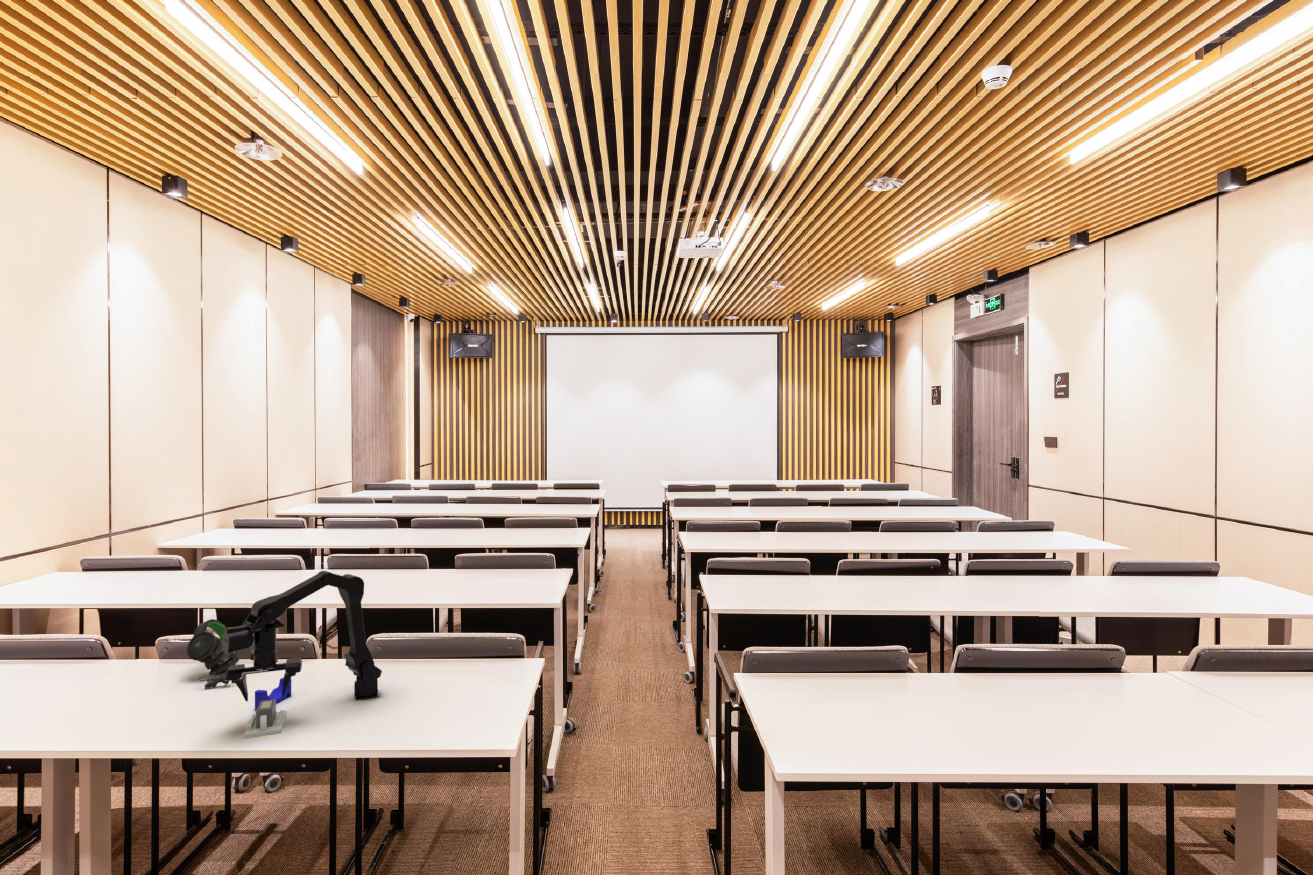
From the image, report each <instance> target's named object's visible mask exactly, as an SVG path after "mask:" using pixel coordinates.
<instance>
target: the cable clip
mask: <svg viewBox="0 0 1313 875" xmlns="http://www.w3.org/2000/svg"><path fill="white" fill-rule="evenodd" d="M283 681H284V677H281V678H279V683H278V686H277V687H276V688H273V689H272V691H271V692H270V693H269V694H268V690H267V689H266V690H265V689H257V690H255V691H254V711H255V712H256V710H257V708H258V706H259V703H260V701H263V700H271V699H276V705H278V704H280V703H282V702H284V701H286V700H287V699H289V698H292V678H291V679H290V681H289V683H288V685H287V688H286V691H285V694H284V697H282V689H283Z"/></svg>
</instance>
